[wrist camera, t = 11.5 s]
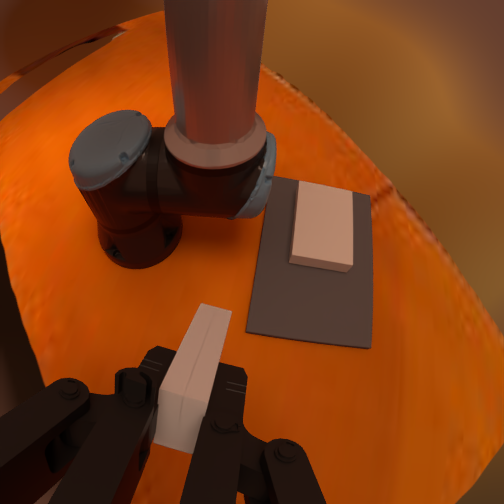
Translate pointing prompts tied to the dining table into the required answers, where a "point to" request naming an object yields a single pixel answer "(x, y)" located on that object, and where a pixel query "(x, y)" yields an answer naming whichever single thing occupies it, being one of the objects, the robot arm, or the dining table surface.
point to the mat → (311, 281)
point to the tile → (322, 227)
